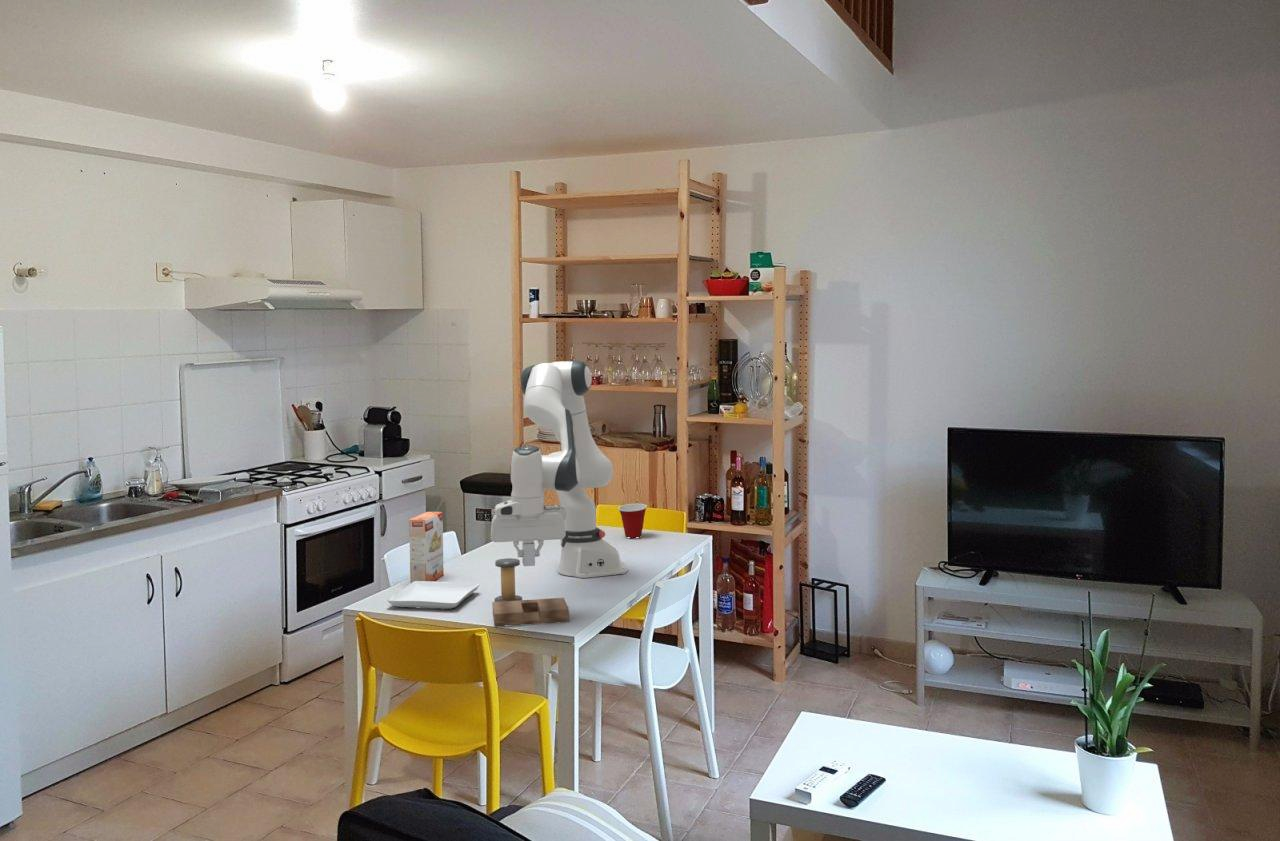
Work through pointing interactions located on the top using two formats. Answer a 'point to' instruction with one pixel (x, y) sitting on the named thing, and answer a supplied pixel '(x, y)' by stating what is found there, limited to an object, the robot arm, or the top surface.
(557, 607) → the notched board
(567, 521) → the robot arm
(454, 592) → the salad plate
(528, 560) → the steel tab
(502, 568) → the bobbin
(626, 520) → the plastic cup
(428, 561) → the cracker box
